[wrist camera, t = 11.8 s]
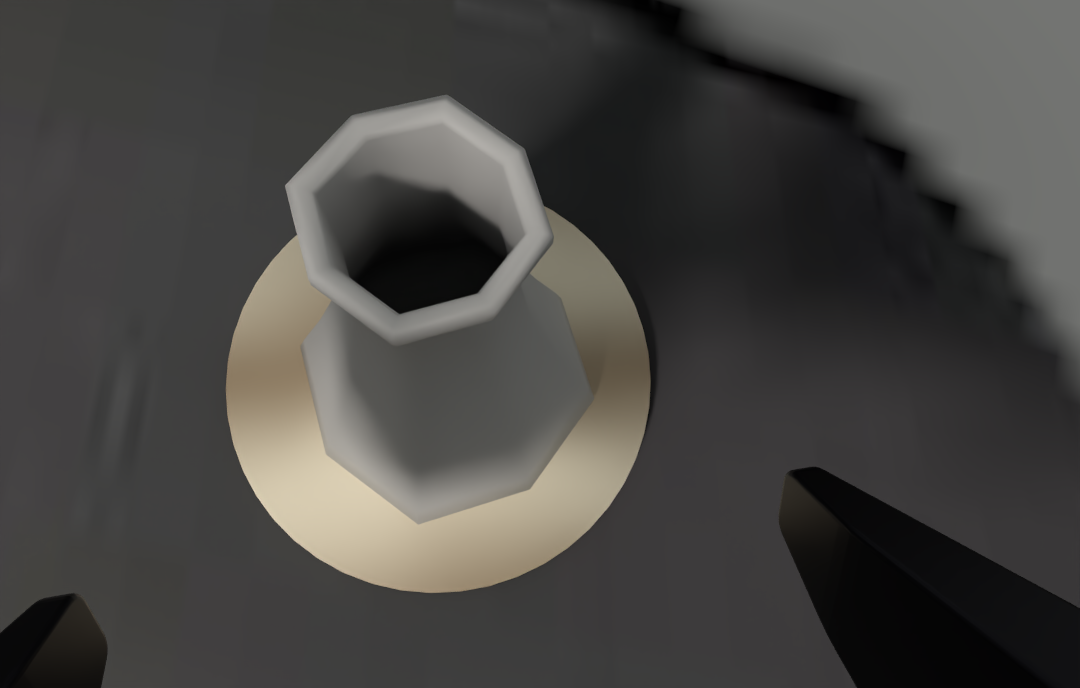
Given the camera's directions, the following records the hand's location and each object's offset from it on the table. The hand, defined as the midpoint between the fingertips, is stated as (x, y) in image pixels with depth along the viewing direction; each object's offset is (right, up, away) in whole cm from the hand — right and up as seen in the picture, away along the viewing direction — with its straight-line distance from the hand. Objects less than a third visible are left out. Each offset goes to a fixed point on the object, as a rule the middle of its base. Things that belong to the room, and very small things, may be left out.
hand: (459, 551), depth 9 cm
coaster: (-2, +2, +10) cm, 10 cm away
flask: (-1, +2, +9) cm, 10 cm away
